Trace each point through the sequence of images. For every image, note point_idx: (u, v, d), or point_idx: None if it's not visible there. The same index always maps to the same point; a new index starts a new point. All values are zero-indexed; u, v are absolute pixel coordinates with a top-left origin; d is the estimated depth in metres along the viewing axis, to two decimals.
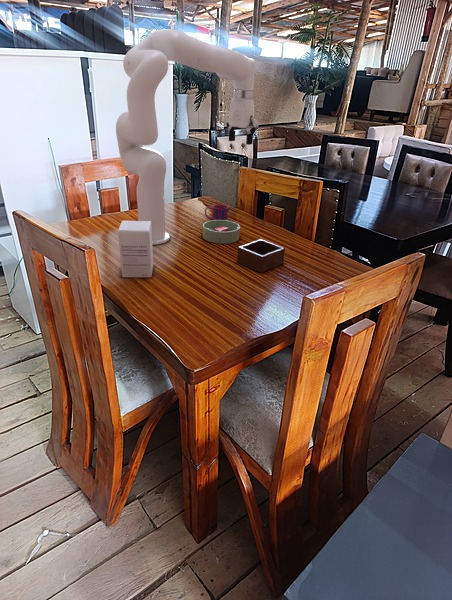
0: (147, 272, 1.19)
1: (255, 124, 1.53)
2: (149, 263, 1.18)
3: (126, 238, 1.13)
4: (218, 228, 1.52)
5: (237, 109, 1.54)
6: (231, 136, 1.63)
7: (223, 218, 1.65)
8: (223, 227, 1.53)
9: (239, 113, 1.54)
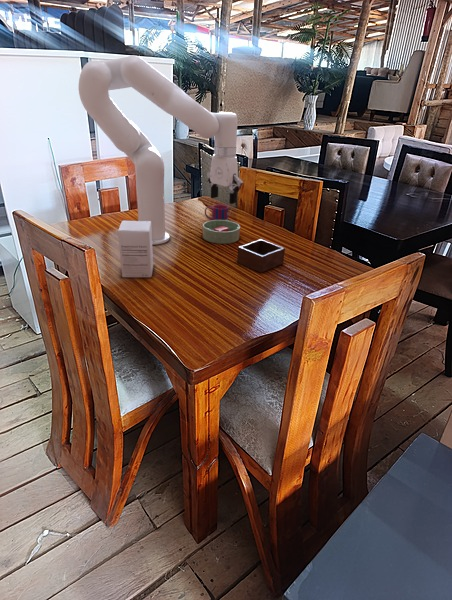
0: (147, 272, 1.19)
1: (238, 183, 1.39)
2: (149, 263, 1.18)
3: (126, 238, 1.13)
4: (218, 228, 1.52)
5: (218, 167, 1.40)
6: (213, 193, 1.49)
7: (223, 218, 1.65)
8: (223, 227, 1.53)
9: (221, 171, 1.39)
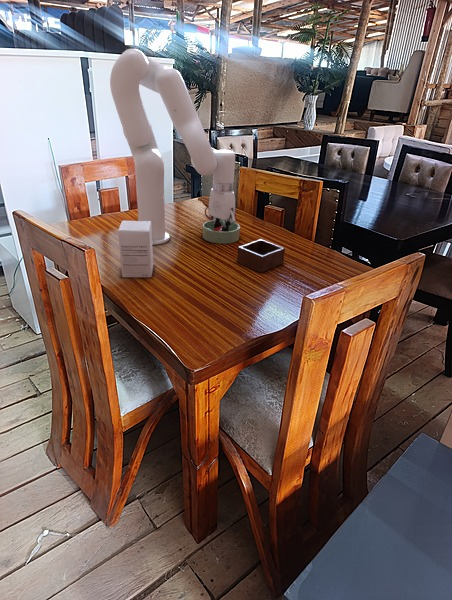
0: (147, 272, 1.19)
1: (231, 221, 1.46)
2: (149, 263, 1.18)
3: (126, 238, 1.13)
4: (218, 228, 1.52)
5: (216, 201, 1.45)
6: None
7: None
8: None
9: (219, 205, 1.45)
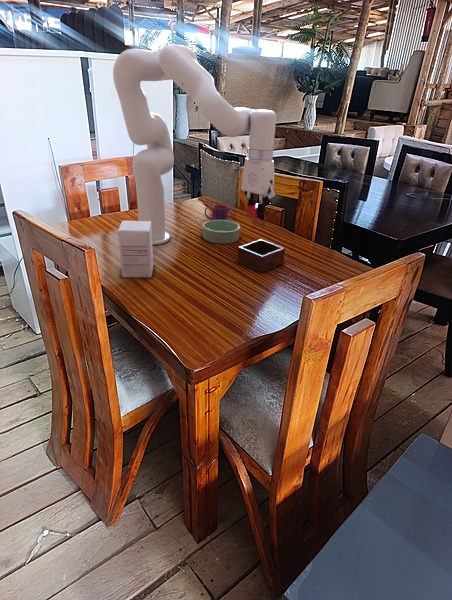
0: (147, 272, 1.19)
1: (270, 196, 1.23)
2: (149, 263, 1.18)
3: (126, 238, 1.13)
4: (253, 205, 1.29)
5: (252, 172, 1.22)
6: None
7: (223, 218, 1.65)
8: None
9: (256, 177, 1.22)
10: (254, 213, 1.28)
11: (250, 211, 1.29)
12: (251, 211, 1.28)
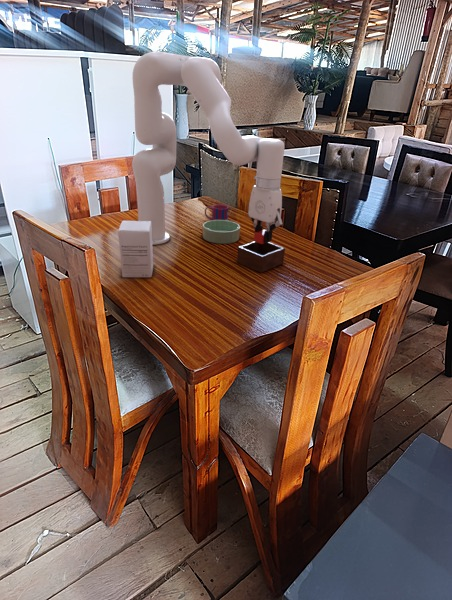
0: (147, 272, 1.19)
1: (277, 224, 1.23)
2: (149, 263, 1.18)
3: (126, 238, 1.13)
4: (260, 232, 1.28)
5: (260, 200, 1.22)
6: None
7: (223, 218, 1.65)
8: None
9: (263, 205, 1.21)
10: (261, 240, 1.27)
11: (257, 238, 1.28)
12: (258, 238, 1.28)
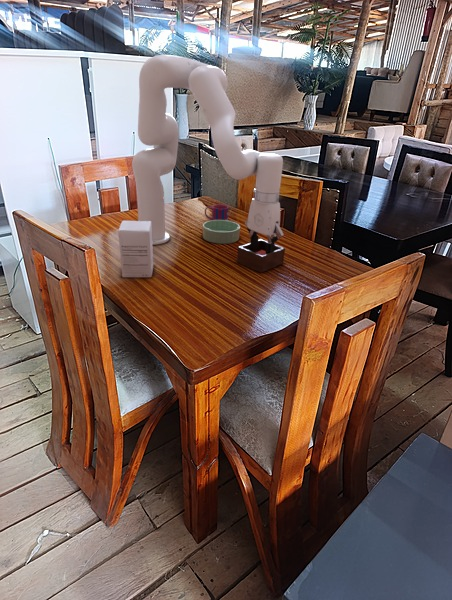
0: (147, 272, 1.19)
1: (278, 235, 1.24)
2: (149, 263, 1.18)
3: (126, 238, 1.13)
4: (258, 253, 1.32)
5: (258, 213, 1.24)
6: (253, 243, 1.32)
7: (223, 218, 1.65)
8: (263, 252, 1.33)
9: (262, 218, 1.23)
10: None
11: None
12: None
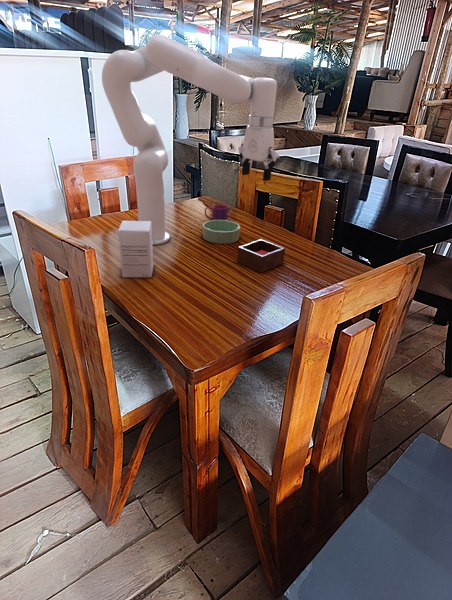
0: (147, 272, 1.19)
1: (274, 158, 1.26)
2: (149, 263, 1.18)
3: (126, 238, 1.13)
4: (258, 253, 1.32)
5: (253, 139, 1.27)
6: (245, 169, 1.36)
7: (223, 218, 1.65)
8: (263, 252, 1.33)
9: (256, 144, 1.27)
10: None
11: None
12: None
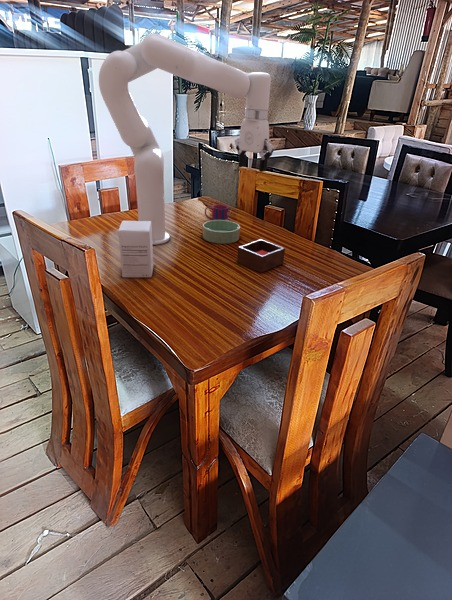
0: (147, 272, 1.19)
1: (270, 149, 1.31)
2: (149, 263, 1.18)
3: (126, 238, 1.13)
4: (258, 253, 1.32)
5: (249, 131, 1.33)
6: (241, 161, 1.41)
7: (223, 218, 1.65)
8: (263, 252, 1.33)
9: (252, 136, 1.32)
10: None
11: None
12: None
